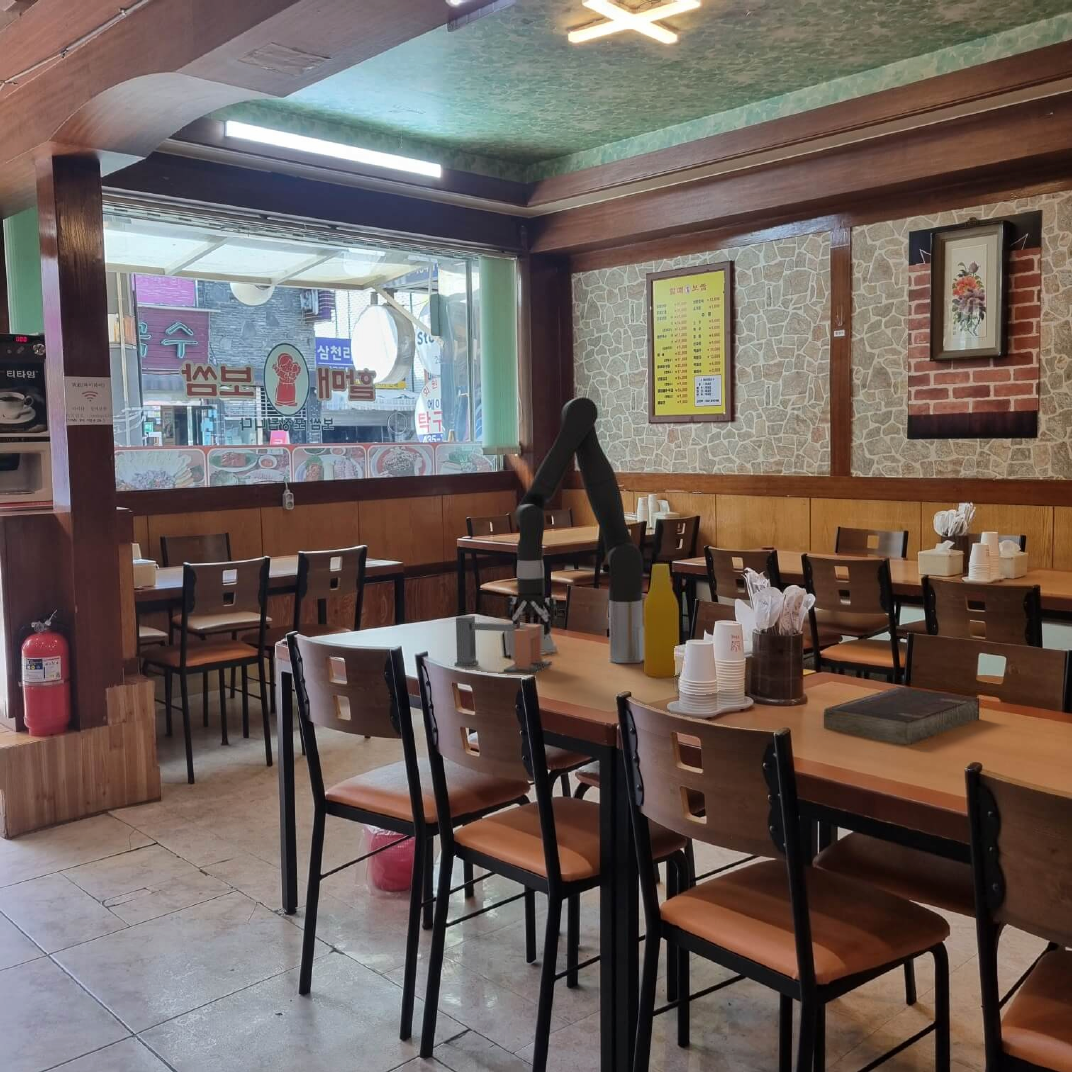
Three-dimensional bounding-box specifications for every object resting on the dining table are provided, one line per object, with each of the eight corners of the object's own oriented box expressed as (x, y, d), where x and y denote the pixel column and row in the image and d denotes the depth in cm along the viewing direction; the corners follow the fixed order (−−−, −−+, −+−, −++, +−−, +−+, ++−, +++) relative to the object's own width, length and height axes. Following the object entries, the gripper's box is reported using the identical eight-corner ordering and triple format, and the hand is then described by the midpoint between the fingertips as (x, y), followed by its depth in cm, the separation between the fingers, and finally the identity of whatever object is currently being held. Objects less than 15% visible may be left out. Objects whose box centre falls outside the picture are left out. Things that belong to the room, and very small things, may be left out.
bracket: (519, 665, 290) (518, 617, 289) (513, 668, 285) (511, 619, 284) (462, 662, 296) (460, 615, 295) (454, 665, 291) (453, 617, 290)
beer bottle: (678, 678, 268) (677, 566, 266) (642, 677, 270) (640, 566, 267) (680, 671, 277) (679, 562, 275) (646, 670, 279) (644, 562, 276)
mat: (552, 663, 291) (552, 661, 291) (534, 673, 278) (534, 671, 278) (522, 662, 294) (522, 660, 294) (503, 671, 281) (503, 669, 281)
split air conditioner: (511, 659, 299) (504, 625, 301) (503, 662, 303) (496, 628, 305) (558, 651, 309) (551, 619, 311) (549, 655, 313) (542, 622, 315)
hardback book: (898, 706, 235) (898, 684, 235) (979, 721, 221) (979, 698, 221) (823, 730, 216) (823, 706, 216) (906, 748, 202) (907, 722, 202)
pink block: (542, 662, 291) (541, 624, 290) (528, 669, 280) (527, 631, 280) (529, 661, 292) (528, 624, 291) (514, 668, 282) (513, 630, 281)
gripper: (559, 575, 289) (560, 633, 290) (511, 574, 294) (513, 631, 295) (550, 578, 282) (551, 637, 283) (501, 577, 287) (503, 635, 288)
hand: (532, 634), depth 289 cm, fingers open, 8 cm apart
